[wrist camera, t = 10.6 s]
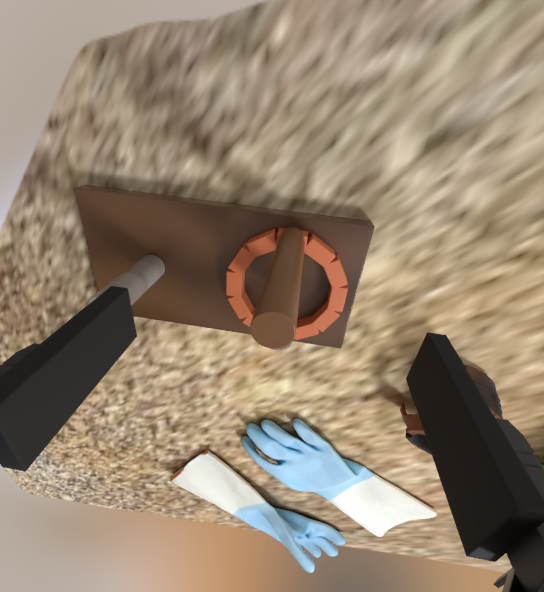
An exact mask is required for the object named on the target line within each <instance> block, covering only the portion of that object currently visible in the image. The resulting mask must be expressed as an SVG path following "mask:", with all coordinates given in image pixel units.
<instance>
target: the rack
mask: <svg viewBox="0 0 544 592" xmlns="http://www.w3.org/2000/svg"><path fill="white" fill-rule="evenodd" d="M74 191H75V195H76V199H77V203H78V208H79V212H80V216H81V220H82V225H83V229H84V233H85V237H86V242H87V246H88V250H89V254H90V258H91V263H92V267H93V271H94V275H95V280H96V284H97V288H98V292H97V293H96V294H95V295H93V296H92V297H91V298H90V299H89V300H88V303H87V305H89V304H90V303H91V302H92V301H94V300H95V299H96V298H97V297H98V296H100V295H101V294H102V293H103V292H105V291H106V290H107V289H108V288H109V287H111V286H117V287H123V288H128V291H129V297H130V302H131V308H132V313H133V316H136V317H143V318H149V319H156V320H162V321H168V322H175V323H181V324H188V325H194V326H200V327H207V328H213V329H220V330H226V331H233V332H239V333H245V334H251V332H250V327H249V326H247V325H246V324H244V323H243V319H244V318H242V319H239V317H238V316H237V314H236V312H235V311H234V309H233V307H232V306H231V304H230V302H229V301H228V297H229V296H228V295H226V286H227V270H228V269H229V268H228V267H229V265H230V263H231V262H232V260H233V259H234V257H235V256H236V255H237V253H238V252H239V250H240V249H241V247H242V246H243V245H244V243H245V242H248V240H249V239H250V238H252V237H255V236H257V235H260V234H262V233H264V232H267V231H269V230H272V229H275V230H276V232H277V233H278V230H279V228H285V229H286V228H290V227H294V228H297V229H299V230H301V231H308V238H309V237H310V236H311V234H314V235H316V236H317V237H318V238H320V239H321V240H322V241H323V242H325V243H326V244H327V245H329V246H330V247H331V248H333V249H334V250H335V255H336V254H338V256H339V258H340V261H341V264H342V266H343V269H344V272H345V274H346V277H347V282H348V284H347V286H348V291H347V295H346V299H345V303H344V307H343V311H342V312H340V316H339V317H338V318H337V319H336V320H335V321H334V322H333V323H332V324H331V325H330V326H328V327H327V328H326V329H325V330H324V331H323V332H322V331H320V330H319V334H317V335H313V336H310V337H306V338H303V339H299V340H295V339H293V341H297V342H303V343H310V344H316V345H323V346H329V347H335V348H341V347H342V343H343V340H344V336H345V332H346V329H347V325H348V321H349V318H350V314H351V310H352V307H353V303H354V299H355V296H356V292H357V288H358V285H359V281H360V277H361V274H362V270H363V266H364V263H365V259H366V256H367V252H368V248H369V245H370V241H371V237H372V234H373V230H374V225H373V223H372V222H371V221H364V220H356V219H348V218H340V217H332V216H325V215H317V214H309V213H301V212H293V211H285V210H277V209H270V208H262V207H254V206H246V205H238V204H230V203H222V202H215V201H207V200H199V199H191V198H183V197H175V196H167V195H160V194H152V193H144V192H136V191H128V190H120V189H112V188H104V187H97V186H89V185H83V186H80V187H76V188H74ZM274 251H275V250H273V251H271V252H268V253H265V254H263V255H260V256H258V257H255V258H254V260H253V261H252V262H251V264H250V265H249V266H248V268H247V269H246V270H245V279H244V290H245V292H246V294H247V296H248V297H249V299H250V301H251V303H252V305H253V307H255V308H256V306H257V303H258V300H259V297H260V294H261V290H262V287H263V284H264V281H265V278H266V275H267V272H268V269H269V266H270V263H271V260H272V257H273V254H274ZM329 289H330V282H329V280H328V277H327V275H326V272H325V270H324V267H323V266H322V265H320V264H319V263H317V262H316V261H315V260H313V259H312V258H311V257H309V256H308V255H307V254H305V253H304V258H303V267H302V277H301V287H300V297H299V307H298V317H297V320H299V319H303V318H306V317H309V316H313V315H314V314H315V313H316V312H317V311H318V310H319V309H320V308H321V307H322V306H323V305H324V303H325V302H326V301H327V298H328V294H329ZM293 341H292V342H293ZM292 342H291V343H290V344H288V345H287V346H285V347H282V348H270V349H273V350H283V349H286V348H287V347H289V346H290V345H291V344H292Z"/></svg>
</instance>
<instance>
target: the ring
mask: <svg viewBox="0 0 544 592" xmlns="http://www.w3.org/2000/svg"><path fill="white" fill-rule="evenodd" d="M273 250H275V251H274V254H273V257H272V260H271V263H270V266H269V269H268V272H267V275H266V278H265V281H264V284H263V287H262V290H261V294H260V297H259V300H258V303H257V306H256V308H255V307H253V305H252V303H251V301H250V299H249V297H248V296H247V294H246V292H245V290H244V279H245V270H246V269H247V268H248V266H249V265H250V264H251V262H252V261H253V260H254V258H255V257H258V256H260V255H263V254H265V253H268V252H271V251H273ZM304 253H305V254H307V255H308V256H309V257H311V258H312V259H313V260H315V261H316V262H317V263H319V264H320V265H322V266H323V267H324V270H325V272H326V275H327V277H328V280H329V282H330V289H329V294H328V298H327V301H326V302H325V303H324V305H323V306H322V307H321V308H320V309H319V310H318V311H317V312H316V313H315V314H314V315H313V316H309V317H306V318H303V319H299V320H297V317H298V307H299V297H300V287H301V277H302V267H303V258H304ZM228 268H229V269H228V270H227V286H226V295H228V296H229V297H228V301H229V302H230V304H231V306H232V307H233V309H234V311H235V312H236V314H237V316H238V317H239V319H242V318H244V319H243V323H244V324H246V325H247V326H249V327H250V332H251V334H252V336H253V338H254V339H255V340H256V341H257V342H258V343H259V344H261V345H262V346H265V347H268V348H282V347H285V346H287V345H288V344H290V343H291V342H292V341H293V339H295V340H299V339H303V338H306V337H310V336H313V335H317V334H319V330H320V331H322V332H323V331H324V330H325V329H326V328H327V327H328V326H330V325H331V324H332V323H333V322H334V321H335V320H336V319H337V318H338V317H339V316H340V312H342V311H343V307H344V303H345V299H346V295H347V291H348V286H347V284H348V282H347V277H346V274H345V272H344V269H343V266H342V264H341V261H340V258H339V256H338V254H336V255H335V250H334V249H333V248H331V247H330V246H329V245H327V244H326V243H325V242H323V241H322V240H321V239H320V238H318V237H317V236H316V235H314V234H311V236H310V237H309V238H308V231H301V230H299V229H297V228H294V227H290V228H286V229H285V228H279V230H278V233H277V232H276V230H275V229H272V230H269V231H267V232H264V233H262V234H260V235H257V236H255V237H252V238H250V239H249V240H248V242H245V243H244V245H243V246H242V247H241V249H240V250H239V252H238V253H237V255H236V256H235V257H234V259H233V260H232V262H231V263H230V265H229V267H228Z"/></svg>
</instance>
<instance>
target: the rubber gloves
mask: <svg viewBox="0 0 544 592" xmlns="http://www.w3.org/2000/svg"><path fill="white" fill-rule="evenodd" d="M292 424H293V427H294V429H295V430H296V432H297V433H298V435H299V436H300V437H301V438H302V439H303V440H304V441H305V442H303V441H302V440H300V439H298V438H296V437H294V436H292V435H290V434H289V433H287V432H286V431H284V430H283V429H282V428H280V427H279V426H278V425H276V424H275V423H274V422H272V421H270V420H264V421H262V423H261V427H262V429H263V430H264V431H265V432H264V431H263V430H262V429H261V428H260V427H259V426H258V425H256V424H253V423H250V424H248V425H247V426H246V432H247V434H248V435H249V437H250V438H251V439H252V440H251V439H250V438H249V437H247V436H244V437H242V439H241V443H242V445H243V447H244V449H245V450H246V452H247V453H248V454H249V455H250V456H251V457H252V459H253V460H254V461H255V462H256V463H257V464H258V465H260V466H261V467H262V468H263V469H265V470H266V471H267V472H268V473H269V474H271V475H273V476H274V477H275V478H276V479H277V480H279V481H280V482H281V483H283V484H284V485H286V486H287V487H289V488H291V489H294V490H298V491H313V492H316V493H317V494H319V495H321V496H322V497H324V498H325V499H327V500H328V501H330V502H331V503H332V504H333V505H335V506H336V507H337V508H339V509H340V510H341V511H342V512H344V513H345V514H346V515H348V516H349V517H351V518H352V519H353V520H355V521H356V522H357V523H359V524H360V525H361V526H363V527H364V528H366V529H367V530H368V531H370V532H371V533H373V534H374V535H376V536H377V537H381V536H383V534H384V533H386V531H387V530H389V529H390V528H392V527H393V526H396V525H397V524H401V523H405V522H406V521H409V520H414V519H423V518H424V519H427V518H432V517H435V516H436V515H437V511H436V510H434V509H432V508H431V507H429V506H428V505H426V504H424V503H423V502H421V501H419V500H418V499H416V498H414V497H413V496H411V495H410V494H408V493H406V492H405V491H403V490H401V489H400V488H398V487H396V486H394V485H393V484H391V483H389V482H387V481H386V480H384V479H382V478H380V477H379V476H377V475H376V474H374V473H373V472H371V471H370V470H368V469H367V468H366V467H364V466H361V465H359V464H357V463H355V462H352V461H349V460H347V459H344V458H341V457H340V456H339V455H338V453H337V452H336V451H335V450H334V449H333V448H332V446H331V445H330V444H329V443H328V442H327V441H326V440H324V439H323V438H322V437H320V436H319V435H318V434H317V433H315V432H314V431H313V430H312V429H311V428H310V427H308V426H307V425H306V424H305V423H304V422H303V421H301V420H300V419H294V420H293V422H292ZM252 441H253V442H254V443H255V445H256V446H257V447H258V448H259V449H260V450H261V451H262V452H263V453H264V454H266V455H267V456H269V457H270V458H272V459H274V460H277V462H278V465H277V464H275V463H271V462H269V461H267V460H266V459H264V458H263V457H262V456H260V455H259V453H258V452H257V451H256V449H255V446H254V444H253V442H252ZM307 443H308V444H307ZM170 481H171V482H172V483H174V484H176V485H178V486H180V487H182V488H183V489H185V490H187V491H189V492H191V493H193V494H195V495H197V496H199V497H201V498H203V499H205V500H207V501H209V502H211V503H213V504H215V505H216V506H218V507H220V508H221V509H223V510H225V511H227V512H228V513H230V514H232V515H234V516H236V517H237V518H239V519H241V520H243V521H244V522H246V523H248V524H249V525H251V526H253V527H255V528H257V529H259V530H261V531H264V532H266V533H267V534H269V535H271V536H272V537H274V538H275V539H277V540H279V541H280V542H281V543H282V544H284V545H285V546H286V547H287V549H288V550H289V551H290V552H291V554H292V555H293V556H294V557H295V558H296V560H297V561H298V562H299V563H300V565H301V566H302V567H303V568H304V569H305V570H306V571H307V572H313V571H314V568H315V565H314V562H313V560H312V559H311V557H310V556H309V555H308V554H306V553H305V552H304V549H303V547H305V548H306V549H307V550H308V551H309V552H310V553H311V554H312V555H313V556H314V557H320V556H321V550H320V548H322V550H324V551H325V552H326V553H327V554H328V555H329V556H336V555H337V554H338V550H337V548H336V547H335V545H334V544H332V543H331V542H330V541H329V540H331V541H332V542H334V543H335V544H337V545H343V544H344V543H345V538H344V536H343V535H342V534H341V533H339V532H338V531H337V530H336V529H334V528H333V527H332V526H330V525H327V524H325V523H322V522H319V521H316V520H312V519H309V518H307V517H304V516H302V515H299V514H297V513H294V512H291V511H287V510H283V509H278V508H274V507H272V506H271V505H270V504H269V503H268V502H267V501H265V500H264V498H263V497H262V496H261V495H260V494H259V493H258V492H257V491H256V490H255V489H254V488H253V487H252V486H251V485H250V484H249V483H248V482H247V481H245V480H244V479H243V478H242V477H241V476H240V475H239V474H237V473H236V472H235V471H234V470H233V469H232V468H230V467H229V466H228V465H227V464H226V463H224V462H223V461H222V460H221V459H219V458H218V457H217V456H215V455H214V454H213V453H211V452H210V451H208V450H207V451H204V452H203V453H201V454H200V455H198V456H197V457H195V459H193V460H191V461H190V462H189V463H187V465H186V466H185V467H183V468H181V469H180V470H179V471H177V472H176V473H174V475H172V477H171V479H170ZM326 538H327V539H326ZM328 539H329V540H328ZM319 547H320V548H319Z"/></svg>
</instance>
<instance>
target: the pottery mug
mask: <svg viewBox="0 0 544 592" xmlns="http://www.w3.org/2000/svg"><path fill="white" fill-rule="evenodd" d="M465 368H466V370H467V371H468V373H469V375H470V376H471V378H472V380H473V382H474V383H475V385H476V387H477V388H478V390H479V392H480V393H481V395H482V397H483V398H484V400H485V402H486V403H487V405H488V407H489V409H490V410H491V412H492V414H493V415H494V417H495V418H498V419H503V417H502V410H501V405H500V399H499V398H498V395H497V392H496V388H495V384H494V383H493V381H492V380H491V379H490V378H489V377H488V376H487V375H485V374H484V373H482V372H481V371H478V370H476V369H474V368H471V367H468V366H466V367H465ZM400 406H401V409H400V411H401V414H402V417H403V420H404V422H405V424H406V426H407V429H406V432H407V433H406V438H407V439H408V440H409V441H410V442H411V443H412V444H414V445H415V446H417V447H418V448H420V449H422V450H424V451H426V452H428V453H429V454H431V455H432V453H431V450H430V447H429V444H428V442H427V439H426V436H425V433H424V430H423V427H422V424H421V421H420V418H419V415H418V414H407V413H406V400H405V399H404V398H403V397H401V402H400Z"/></svg>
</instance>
